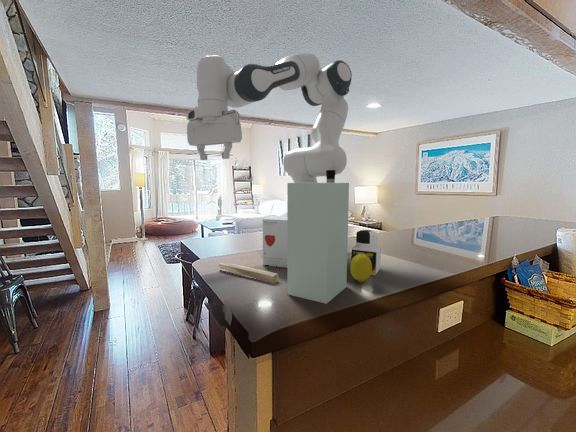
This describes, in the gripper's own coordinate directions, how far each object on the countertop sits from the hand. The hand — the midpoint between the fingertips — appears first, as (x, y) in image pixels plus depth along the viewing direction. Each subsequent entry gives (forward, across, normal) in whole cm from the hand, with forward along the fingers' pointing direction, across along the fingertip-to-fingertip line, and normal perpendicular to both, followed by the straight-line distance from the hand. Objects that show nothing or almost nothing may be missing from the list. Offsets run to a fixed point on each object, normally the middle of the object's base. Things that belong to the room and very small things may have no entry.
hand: (214, 159), depth 90 cm
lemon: (+33, -45, -7) cm, 56 cm away
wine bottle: (+33, -29, -23) cm, 50 cm away
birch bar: (+34, -16, +4) cm, 37 cm away
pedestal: (+33, -38, +4) cm, 50 cm away
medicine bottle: (+33, -43, -18) cm, 57 cm away
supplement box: (+33, -17, -11) cm, 39 cm away
